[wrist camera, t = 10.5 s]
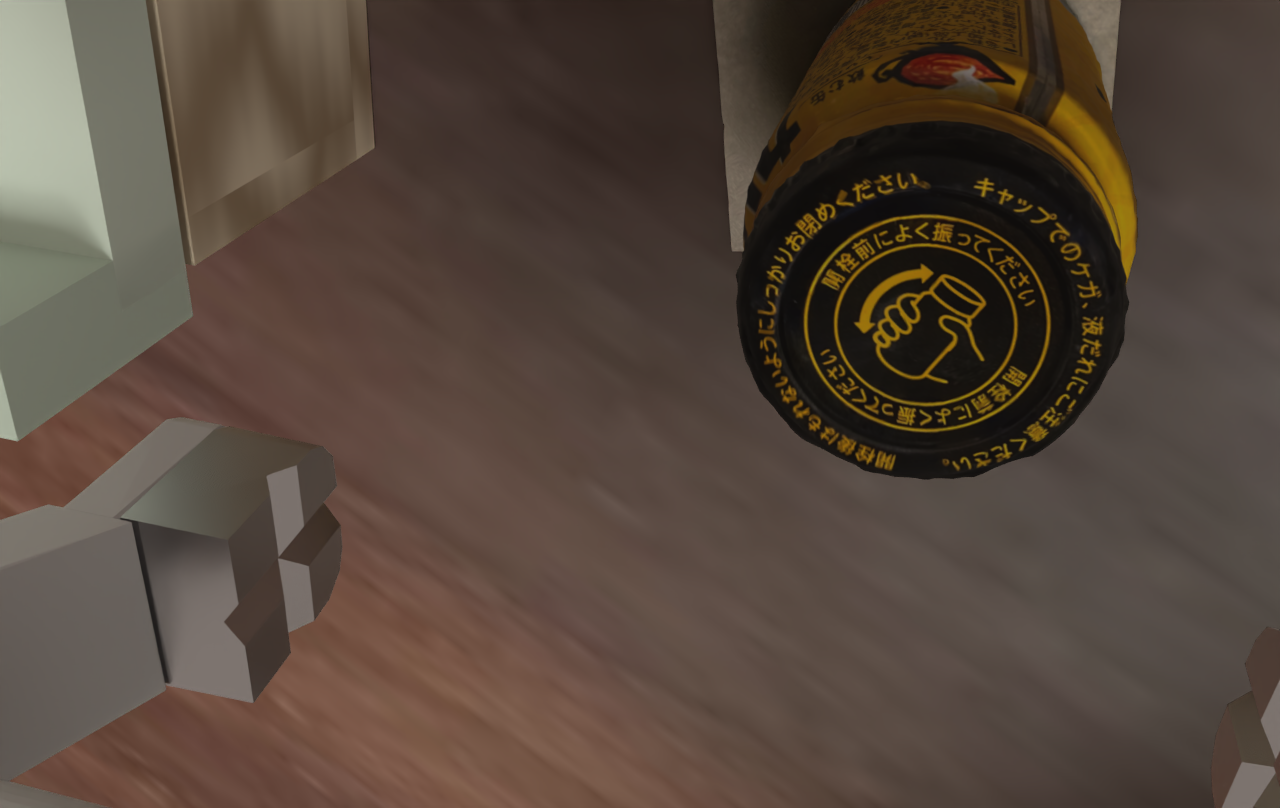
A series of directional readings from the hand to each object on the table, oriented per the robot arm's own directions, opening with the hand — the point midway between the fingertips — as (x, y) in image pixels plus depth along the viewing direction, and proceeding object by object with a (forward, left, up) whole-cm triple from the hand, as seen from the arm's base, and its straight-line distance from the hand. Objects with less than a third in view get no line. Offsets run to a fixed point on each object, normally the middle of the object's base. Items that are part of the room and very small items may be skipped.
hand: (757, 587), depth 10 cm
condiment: (0, 0, -19) cm, 19 cm away
